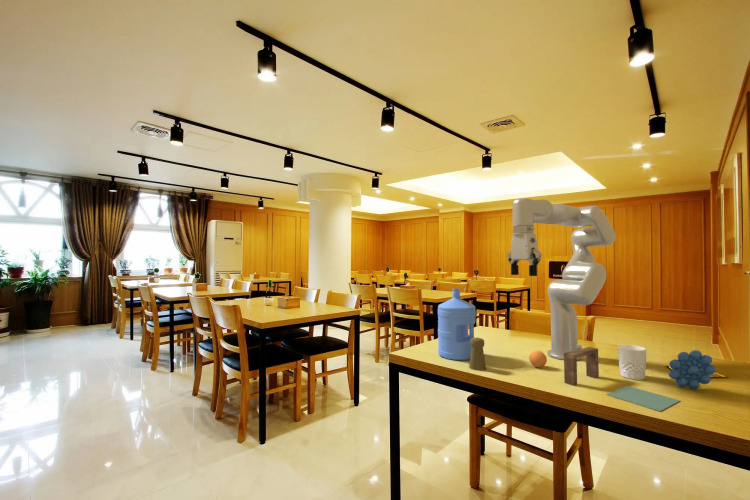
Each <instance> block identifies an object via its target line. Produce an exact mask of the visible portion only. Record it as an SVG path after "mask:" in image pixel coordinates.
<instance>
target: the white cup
mask: <svg viewBox="0 0 750 500" xmlns="http://www.w3.org/2000/svg"><path fill="white" fill-rule="evenodd" d="M617 355H618V357H617V358H618V366H619V373H620V376H621V377H623V378H625V377H626V379H630V380H635V381H643V380H645V379H646V370H647V369H646V368H647V348H646V347H643V346H640V345H635V344H618V345H617Z"/></svg>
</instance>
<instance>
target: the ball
mask: <svg viewBox="0 0 750 500" xmlns="http://www.w3.org/2000/svg"><path fill="white" fill-rule="evenodd" d="M528 360H529V362H530V363H531V365H532V366H533V367H536V368H543V367H544V366H546V364H547V362H548V359H547V355H546V354H545V353H544V352H543V351H541V350H533V351H531V352H530V354H529V357H528Z"/></svg>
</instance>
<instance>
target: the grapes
mask: <svg viewBox="0 0 750 500" xmlns="http://www.w3.org/2000/svg"><path fill="white" fill-rule="evenodd" d="M712 363H713V358H712V356H710V355H708V354H706V355H705V354H704V355H703V354H702V352H701V351H700V350H697V349H696V350H695V349H693V350H691V351H690V352H686V351H681V352H679V353H678V354H677V359H672V360H671V361H670V362H669V365H668V366H670V367H671V368H672V369H673V370H672V369H670V370H669V372H668V376H669V378H670V379H672V380H675V384H676V386H677V387H681V388H684V387H685V388H686V386H687V387H688V388H689V389H691V388H692V389H693V390H696V389H699V388H700V385H707V384H709V383H710V382H711V380H712V378H710V376H711V375H715V374H714V373H715V372H717V368H716V366H715V365H714V364H712Z"/></svg>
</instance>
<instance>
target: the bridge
mask: <svg viewBox="0 0 750 500" xmlns="http://www.w3.org/2000/svg"><path fill="white" fill-rule="evenodd" d="M578 357H582V358H583V357H585V365H586V366H585V367H586V369H585V370H586V373H585V374H586V377H590V378H593V379H599V378H600V372H599V371H600V368H599V348H598V347H597V348H596V347H591V346H586V347H582V349H578V350H573V351H569V352H565V353H564V360H563V371H564V372H563V373H564V374H563V375H564V377H563V378H564V379H563V381H564V383H565V384H567V385H570V386H577V385H578V365H577V364H578V360H577V358H578Z"/></svg>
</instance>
